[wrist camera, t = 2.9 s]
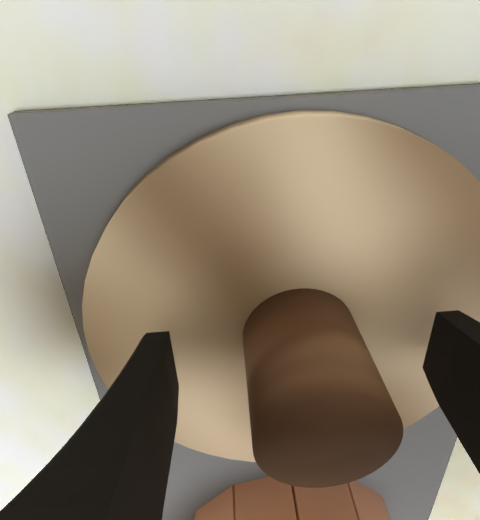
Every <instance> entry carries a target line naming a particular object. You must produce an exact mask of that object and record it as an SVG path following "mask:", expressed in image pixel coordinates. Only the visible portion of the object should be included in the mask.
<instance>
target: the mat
mask: <svg viewBox="0 0 480 520" xmlns="http://www.w3.org/2000/svg"><path fill="white" fill-rule="evenodd" d="M296 110H333V111H340V112H346V113H353V114H359V115H365V116H369V117H372V118H375V119H378V120H382V121H385V122H388V123H391V124H395V125H397V126H399V127H401V128H403V129H405V130H407V131H409V132H411V133H413V134H415V135H417V136H419V137H421V138H423V139H425V140H427V141H429V142H431V143H433V144H435V145H437V146H438V147H440V148H441V149H442V150H444V151H445V152H447V153H448V154H449V155H451V156H452V157H454V158H455V159H456V160H458V161H459V162H461V163H462V164H463V165H464V166H465V167H466V168H467V169H468V170H469V171H470V172H471V173H472V174H473V175H474V176H475V177H476V178H477V179H478V180H479V181H480V84H465V85H449V86H432V87H415V88H399V89H382V90H365V91H349V92H332V93H315V94H298V95H282V96H265V97H248V98H232V99H215V100H198V101H182V102H165V103H148V104H131V105H115V106H98V107H81V108H65V109H48V110H31V111H15V112H13V113H10V114H8V118H9V121H10V124H11V127H12V130H13V133H14V136H15V139H16V142H17V145H18V149H19V152H20V155H21V158H22V161H23V164H24V167H25V170H26V173H27V176H28V179H29V182H30V185H31V188H32V192H33V195H34V198H35V201H36V204H37V207H38V210H39V213H40V216H41V219H42V222H43V225H44V228H45V232H46V235H47V238H48V241H49V244H50V247H51V250H52V253H53V256H54V259H55V262H56V265H57V268H58V272H59V275H60V278H61V281H62V284H63V287H64V290H65V293H66V296H67V299H68V302H69V305H70V308H71V312H72V315H73V318H74V321H75V324H76V327H77V330H78V333H79V336H80V339H81V342H82V345H83V348H84V351H85V355H86V358H87V361H88V364H89V367H90V370H91V373H92V376H93V379H94V382H95V385H96V388H97V391H98V395H99V398H100V400H101V399H102V398H103V396H104V395H105V394H106V392H107V391H108V388H107V387H106V385H105V383H104V382H103V380H102V378H101V377H100V375H99V373H98V372H97V370H96V368H95V365H94V363H93V360H92V358H91V355H90V353H89V351H88V347H87V342H86V338H85V334H84V329H83V315H82V301H83V292H84V283H85V278H86V275H87V272H88V268H89V265H90V261H91V258H92V255H93V253H94V251H95V249H96V247H97V245H98V243H99V240H100V238H101V236H102V234H103V232H104V230H105V228H106V227H107V225H108V223H109V221H110V219H111V218H112V216H113V215H114V213H115V212H116V210H117V209H118V207H119V206H120V204H121V203H122V202H123V200H124V199H125V197H126V196H127V194H128V193H129V192H130V191H131V190H132V189H133V188H134V187H135V186H136V185H137V184H138V183H139V182H140V181H141V179H142V178H143V177H144V176H145V175H146V174H147V173H148V172H149V171H151V170H152V169H153V168H154V167H156V166H157V165H158V164H159V163H161V162H162V161H163V160H164V159H166V158H167V157H168V156H169V155H171V154H172V153H174V152H175V151H177V150H179V149H180V148H182V147H184V146H185V145H187V144H189V143H191V142H192V141H194V140H196V139H197V138H199V137H201V136H203V135H206V134H208V133H210V132H213V131H215V130H217V129H220V128H222V127H224V126H227V125H229V124H232V123H235V122H239V121H243V120H246V119H250V118H254V117H257V116H261V115H265V114H273V113H281V112H288V111H296ZM403 431H404V432H403V438H402V441H401V444H400V446H399V448H398V450H397V451H396V453H395V454H394V455H393V457H392V458H391V459H390V460H389V461H388V462H387V463H385V464H384V465H383V466H382V467H380V468H379V469H377V470H376V471H374V472H373V473H371V474H369V475H367V476H365V477H363V478H361V479H358V480H355V481H357V482H358V483H360V484H362V485H364V486H365V487H367V488H369V489H371V490H372V491H374V492H376V493H378V494H380V495H381V496H382V498H383V500H384V503H385V506H386V509H387V512H388V514H389V517H390V520H428V519H429V516H430V513H431V510H432V508H433V505H434V502H435V499H436V496H437V493H438V490H439V488H440V485H441V482H442V479H443V476H444V473H445V470H446V468H447V465H448V462H449V459H450V456H451V453H452V450H453V447H454V445H455V442H456V439H457V435H456V433H455V432H454V430H453V428H452V426H451V425H450V423H449V421H448V420H447V418H446V416H445V415H444V413H443V411H442V409H441V408H440V406H438V407H437V408H436V409H434V410H433V411H432V412H430V413H429V414H427V415H426V416H424V417H423V418H422V419H420V420H419V421H417V422H415V423H414V424H412V425H410V426H408V427H407V428H405V429H403ZM264 477H268V475H267V474H266V473H264V472H263V471H262V470H261V469H260V467H259V466H258V464H257V463H256V462H248V461H240V460H232V459H227V458H222V457H218V456H213V455H209V454H206V453H202V452H199V451H196V450H193V449H190V448H187V447H185V446H183V445H180V444H178V443H176V442H174V446H173V452H172V458H171V465H170V471H169V477H168V483H167V489H166V496H165V502H164V508H163V516H162V520H193V519H194V515H195V512H196V511H197V510H198V509H199V508H201V507H202V506H204V505H205V504H207V503H208V502H209V501H211V500H212V499H214V498H215V497H217V496H218V495H219V494H221V493H222V492H224V491H225V490H226V489H228V488H229V487H231V486H234V484H239V483H243V482H247V481H251V480H255V479H259V478H264Z"/></svg>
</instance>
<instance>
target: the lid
mask: <svg viewBox="0 0 480 520" xmlns="http://www.w3.org/2000/svg"><path fill="white" fill-rule="evenodd" d="M455 310H459V311H461V312H463V313H464V314H466V315H468V316H470V317H471V318H473V319H475V320H476V321H478V322H480V181H479V180H478V179H477V178H476V177H475V176H474V175H473V174H472V173H471V172H470V171H469V170H468V169H467V168H466V167H465V166H464V165H463V164H462V163H461V162H459V161H458V160H456V159H455V158H454V157H452V156H451V155H449V154H448V153H447V152H445V151H444V150H442V149H441V148H440V147H438V146H437V145H435V144H433V143H431V142H429V141H427V140H425V139H423V138H421V137H419V136H417V135H415V134H413V133H411V132H409V131H407V130H405V129H403V128H401V127H399V126H397V125H395V124H391V123H388V122H385V121H382V120H378V119H375V118H372V117H369V116H365V115H359V114H353V113H346V112H340V111H333V110H296V111H288V112H281V113H273V114H265V115H261V116H257V117H254V118H250V119H246V120H243V121H239V122H235V123H232V124H229V125H227V126H224V127H222V128H220V129H217V130H215V131H213V132H210V133H208V134H206V135H203V136H201V137H199V138H197V139H196V140H194V141H192V142H191V143H189V144H187V145H185V146H184V147H182V148H180V149H179V150H177V151H175V152H174V153H172V154H171V155H169V156H168V157H167V158H166V159H164V160H163V161H162V162H161V163H159V164H158V165H157V166H156V167H154V168H153V169H152V170H151V171H149V172H148V173H147V174H146V175H145V176H144V177H143V178H142V179H141V181H140V182H139V183H138V184H137V185H136V186H135V187H134V188H133V189H132V190H131V191H130V192H129V193H128V194H127V196H126V197H125V199H124V200H123V202H122V203H121V204H120V206H119V207H118V209H117V210H116V212H115V213H114V215H113V216H112V218H111V219H110V221H109V223H108V225H107V227H106V228H105V230H104V232H103V234H102V236H101V238H100V240H99V243H98V245H97V247H96V249H95V251H94V253H93V255H92V258H91V261H90V265H89V268H88V272H87V275H86V278H85V283H84V292H83V301H82V315H83V329H84V334H85V338H86V342H87V347H88V351H89V353H90V355H91V358H92V360H93V363H94V365H95V368H96V370H97V372H98V373H99V375H100V377H101V378H102V380H103V382H104V383H105V385H106V387H107V388H108V389H109V388H110V386H111V385H112V384H113V382H114V381H115V379H116V378H117V376H118V375H119V374H120V372H121V371H122V369H123V367H124V366H125V364H126V363H127V361H128V360H129V358H130V357H131V355H132V353H133V352H134V350H135V349H136V347H137V345H138V344H139V342H140V340H141V339H142V337H143V336H144V335H145V334H146V333H151V332H164V331H169V333H170V338H171V344H172V350H173V355H174V361H175V367H176V372H177V378H178V384H179V395H178V416H177V427H176V433H175V440H174V442H176V443H178V444H180V445H183V446H185V447H187V448H190V449H193V450H196V451H199V452H202V453H206V454H209V455H213V456H218V457H222V458H227V459H232V460H240V461H248V462H256V463H257V464H258V466H259V467H260V469H261V470H262V471H263V472H264V473H266V474H267V475H268V476H270V477H271V478H273V479H275V480H277V481H279V482H282V483H285V484H288V485H292V486H297V487H305V488H324V487H332V486H338V485H342V484H346V483H350V482H353V481H355V480H358V479H361V478H363V477H365V476H367V475H369V474H371V473H373V472H374V471H376V470H377V469H379V468H380V467H382V466H383V465H384V464H385V463H387V462H388V461H389V460H390V459H391V458H392V457H393V455H394V454H395V453H396V451H397V450H398V448H399V446H400V444H401V441H402V438H403V432H404V431H403V429H405V428H407V427H408V426H410V425H412V424H414V423H415V422H417V421H419V420H420V419H422V418H423V417H424V416H426V415H427V414H429V413H430V412H432V411H433V410H434V409H436V408H437V407H438V406H439V404H438V402H437V400H436V398H435V396H434V394H433V391H432V389H431V387H430V385H429V382H428V380H427V377H426V375H425V372H424V370H423V368H422V367H423V363H424V359H425V355H426V351H427V347H428V343H429V339H430V335H431V331H432V327H433V323H434V319H435V315H436V312H441V311H455Z"/></svg>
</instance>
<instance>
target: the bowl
mask: <svg viewBox="0 0 480 520" xmlns="http://www.w3.org/2000/svg"><path fill="white" fill-rule="evenodd" d="M193 520H390V517H389V514H388V512H387V509H386V506H385V503H384V500H383V498H382V496H381V495H380V494H378V493H376V492H374V491H372V490H371V489H369V488H367V487H365V486H364V485H362V484H360V483H358V482H357V481H353V482H350V483H346V484H342V485H338V486H332V487H324V488H305V487H297V486H292V485H288V484H285V483H282V482H279V481H277V480H275V479H273V478H271V477H270V476H268V477H264V478H259V479H255V480H251V481H247V482H243V483H239V484H234V486H231V487H229V488H228V489H226V490H225V491H224V492H222V493H221V494H219V495H218V496H217V497H215V498H214V499H212V500H211V501H209V502H208V503H207V504H205V505H204V506H202V507H201V508H199V509H198V510H197V511H196V512H195V515H194V519H193Z"/></svg>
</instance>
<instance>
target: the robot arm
mask: <svg viewBox="0 0 480 520" xmlns="http://www.w3.org/2000/svg"><path fill="white" fill-rule="evenodd" d="M422 368H423V370H424V372H425V375H426V377H427V380H428V382H429V385H430V387H431V389H432V391H433V394H434V396H435V398H436V400H437V402H438V404H439V406H440V408H441V409H442V411H443V413H444V415H445V416H446V418H447V420H448V421H449V423H450V425H451V426H452V428H453V430H454V432H455V433H456V435H457V437H458V438H459V440H460V442H461V443H462V445H463V447H464V448H465V450H466V452H467V453H468V455H469V457H470V458H471V460H472V462H473V463H474V465H475V467H476V468H477V470H478V472H479V473H480V322H478V321H476V320H475V319H473V318H471V317H470V316H468V315H466V314H464V313H463V312H461V311H459V310H455V311H441V312H436V315H435V319H434V323H433V327H432V331H431V335H430V339H429V343H428V347H427V351H426V355H425V359H424V363H423V367H422ZM178 395H179V384H178V378H177V372H176V367H175V361H174V355H173V350H172V344H171V338H170V333H169V331H164V332H151V333H146V334H145V335H144V336H143V337H142V339H141V340H140V342H139V344H138V345H137V347H136V349H135V350H134V352H133V353H132V355H131V357H130V358H129V360H128V361H127V363H126V364H125V366H124V367H123V369H122V371H121V372H120V374H119V375H118V376H117V378H116V379H115V381H114V382H113V384H112V385H111V386H110V388H109V389H108V391H107V392H106V394H105V395H104V396H103V398H102V399H101V400H100V402H99V403H98V404H97V406H96V407H95V408H94V409H93V411H92V412H91V413H90V415H89V416H88V417H87V418H86V420H85V421H84V422H83V424H82V425H81V426H80V427H79V429H78V430H77V431H76V432H75V433H74V435H73V436H72V437H71V438H70V439H69V440H68V442H67V443H66V444H65V445H64V446H63V447H62V449H61V450H60V451H59V452H58V453H57V454H56V455H55V456H54V457H53V458H52V460H51V461H50V462H49V463H48V464H47V465H46V466H45V467H44V468H43V469H42V470H41V471H40V472H39V473H38V474H37V475H36V476H35V477H34V478H33V479H32V481H31V482H30V483H29V484H28V485H27V486H26V487H25V488H24V489H23V490H22V491H21V492H20V493H19V494H18V495H17V496H16V497H15V498H14V499H13V500H12V501H11V502H10V503H8V504H7V505H6V506H5V507H4V508H3V509H2V510H1V511H0V520H162V516H163V508H164V502H165V496H166V489H167V483H168V477H169V471H170V465H171V458H172V452H173V446H174V440H175V433H176V427H177V416H178Z"/></svg>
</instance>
